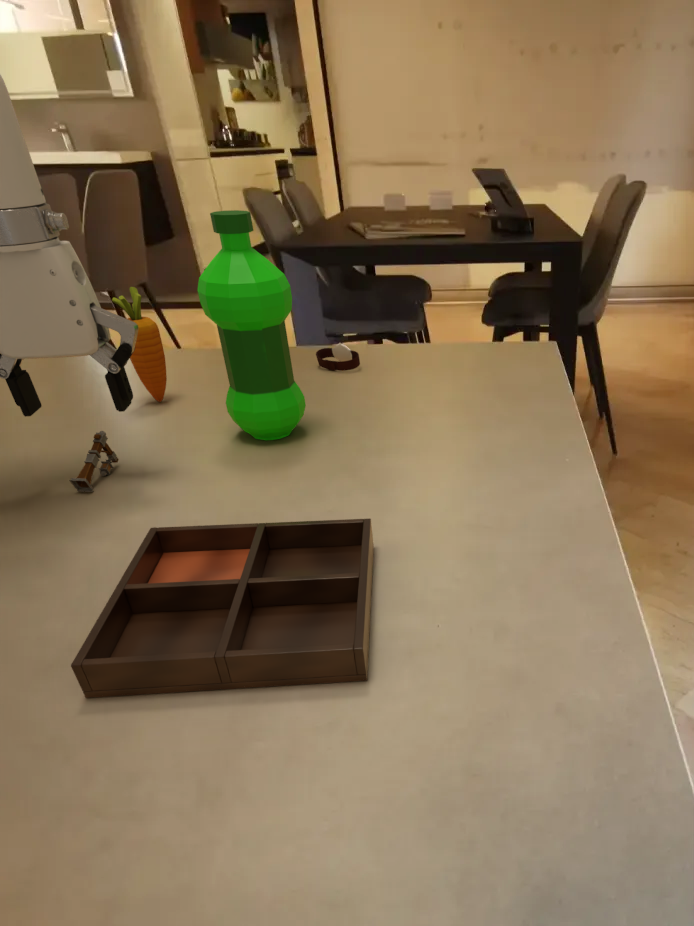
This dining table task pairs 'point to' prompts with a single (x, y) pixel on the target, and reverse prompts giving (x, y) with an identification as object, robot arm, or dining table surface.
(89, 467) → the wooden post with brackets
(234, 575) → the grid
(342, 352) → the watch
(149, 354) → the carrot
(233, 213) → the plastic bottle
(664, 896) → the dining table surface
